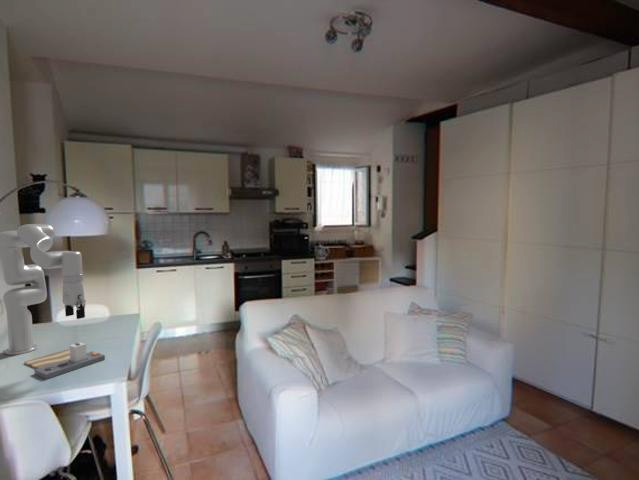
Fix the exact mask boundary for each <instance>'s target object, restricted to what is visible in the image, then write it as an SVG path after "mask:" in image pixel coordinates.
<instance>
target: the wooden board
mask: <svg viewBox="0 0 639 480" xmlns="http://www.w3.org/2000/svg"><path fill="white" fill-rule="evenodd" d="M66 359H70V349H68V348H67V349H64V350H61V351H57V352H54V353H50V354H46V355H44V356H43V355H42V356H40V357H36V358H33V359H29V360H27V361H24V365H27V366H29V367H32V368H33V369H38V368H41V367H44V366H47V365H50V364H54V363H57V362H60V361H63V360H66Z"/></svg>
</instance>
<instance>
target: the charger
mask: <svg viewBox="0 0 639 480" xmlns="http://www.w3.org/2000/svg"><path fill="white" fill-rule="evenodd" d="M69 350H70V362H73V363H77V362H80V361H83V360H87V359H86V353H87V344H86V343H83V342H75V343H73V344H70V345H69Z"/></svg>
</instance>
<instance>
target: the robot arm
mask: <svg viewBox="0 0 639 480" xmlns="http://www.w3.org/2000/svg"><path fill="white" fill-rule="evenodd" d="M54 237H55V229H54V228H53V226H52V225H50V224H48V223H30V224H27V223H26V224H23V225H20V226H19V227H18V228H17V230H7V231H6V230H5V231H2V232H0V261H1V267H2V272H3V279H4V282H5V284H6V285H8V286H13V287H14V286H20V285H28V286H21V287H16V288H12V289H11V288H10V289H9V290H7V291H5V292H4V294H3V297H2V298H3V299H2V301H3V303H4V307H5V311H6V312H5V313H6V322H7V323H6V324H7V337H8V348H6V349H5V350H4V354H5V355H8V356H15V355H16V356H17V355H23V354H27V353H30V352H32V351H35V350H37V349H38V344H35V343H34V333H33V317H32V312H31V311H30V310H29V309H28V308H27V307H28V306H31V305H32V306H33V305H37V304H41V303H43V302H45V301H46V300H47V298H48V291H47V284H46V278H45V273H44V270H53V269H60V268H61V274H62V304H63V305H64V308H65V309H64V311H65V317H72V316H74V315H75V313H76V315H75V316H76V319H77V320H79V319H85V317H86V312H85V311H86V310H85V309H86V299H85V292H84V291H85V290H84V285H83V282H84V274H83V273H84V272H83V258H82V257H83V255H82V253H81V251H75V250H74V251H71V250H58V251H57V250H56V251H49V250H50V249H51V248H52V246H53V241H54ZM19 248H30V252H29V256H30V258H31V261H32V262H33V264H31V263H30V264H25V260H24V259H25V258H24V256H23V254H22V253H21V252H20V251H19V250H18V249H19ZM43 269H44V270H43ZM29 284H30V285H29ZM74 306H75V308H76V310H74V309H75V308H74Z"/></svg>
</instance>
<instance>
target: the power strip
mask: <svg viewBox="0 0 639 480" xmlns="http://www.w3.org/2000/svg"><path fill="white" fill-rule="evenodd" d="M86 359H87V360H83V361H80V362H77V363H73V362H70V359H66V360H63V361H60V362H57V363H54V364H50V365H47V366H44V367H41V368H38V369H36V368H33V369H34V375H36V376H38V377H40V378H43V379H44V380H49V379H51V378H54V377H58V376H61V375H63V374H66V373H69V372H71V371H72V372H73V371H74V370H77V369H81V368H84V367H86V366H87V367H88V366H89V365H93V364H96V363H98V362H101V361H104V360H105V359H106V354H102V353H100V352H98V351H89V352H86Z"/></svg>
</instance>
